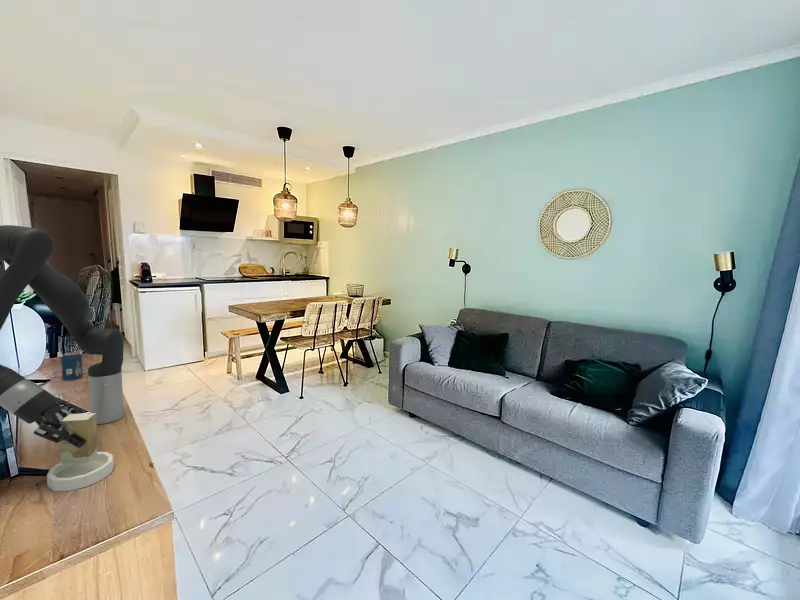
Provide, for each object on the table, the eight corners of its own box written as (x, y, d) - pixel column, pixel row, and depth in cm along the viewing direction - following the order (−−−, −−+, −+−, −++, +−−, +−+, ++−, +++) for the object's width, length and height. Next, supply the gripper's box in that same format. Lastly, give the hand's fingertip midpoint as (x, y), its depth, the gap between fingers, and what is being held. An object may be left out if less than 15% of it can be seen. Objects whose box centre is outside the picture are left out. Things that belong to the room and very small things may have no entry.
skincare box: (60, 465, 92) (57, 420, 91) (70, 456, 96) (68, 413, 95) (89, 462, 94) (87, 419, 92) (98, 453, 98) (96, 412, 96)
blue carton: (66, 376, 165) (64, 352, 164) (85, 375, 168) (83, 351, 167) (59, 381, 159) (58, 356, 158) (79, 380, 162) (77, 354, 161)
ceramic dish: (39, 480, 93) (38, 470, 92) (98, 456, 104) (98, 447, 104) (62, 497, 87) (61, 486, 87) (122, 470, 99) (122, 460, 98)
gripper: (21, 401, 84) (86, 443, 89) (57, 380, 97) (111, 418, 102) (-7, 424, 82) (61, 465, 88) (34, 400, 96) (90, 437, 101)
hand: (88, 439), depth 95 cm, fingers closed on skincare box, 4 cm apart
